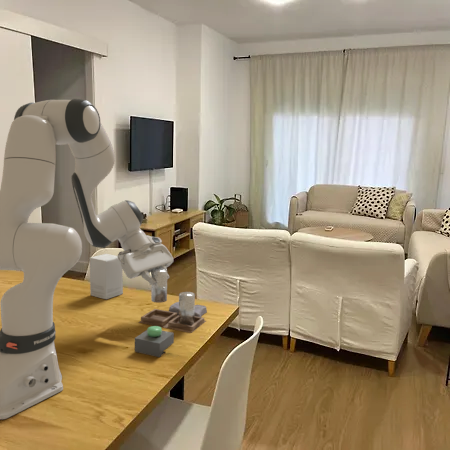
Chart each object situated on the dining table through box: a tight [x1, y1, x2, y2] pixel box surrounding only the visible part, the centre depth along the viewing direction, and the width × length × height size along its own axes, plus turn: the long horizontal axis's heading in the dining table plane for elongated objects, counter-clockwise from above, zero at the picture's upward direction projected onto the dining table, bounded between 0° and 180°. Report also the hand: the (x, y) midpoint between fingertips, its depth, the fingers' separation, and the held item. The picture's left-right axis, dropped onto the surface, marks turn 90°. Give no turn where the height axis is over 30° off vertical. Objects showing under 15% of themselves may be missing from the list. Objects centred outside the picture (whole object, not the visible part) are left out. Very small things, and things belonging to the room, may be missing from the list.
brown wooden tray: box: [137, 308, 207, 334], centre depth 147 cm, size 11×19×2 cm, turn 68°
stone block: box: [168, 301, 208, 317], centre depth 156 cm, size 12×5×10 cm
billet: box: [150, 268, 168, 304], centre depth 147 cm, size 5×5×10 cm
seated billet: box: [178, 291, 196, 326], centre depth 144 cm, size 5×5×10 cm
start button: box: [146, 325, 163, 338], centre depth 128 cm, size 4×4×5 cm
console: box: [134, 329, 175, 358], centre depth 129 cm, size 8×8×4 cm
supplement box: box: [89, 253, 124, 300], centre depth 173 cm, size 9×9×15 cm
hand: (160, 281), depth 146 cm, fingers closed on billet, 5 cm apart
